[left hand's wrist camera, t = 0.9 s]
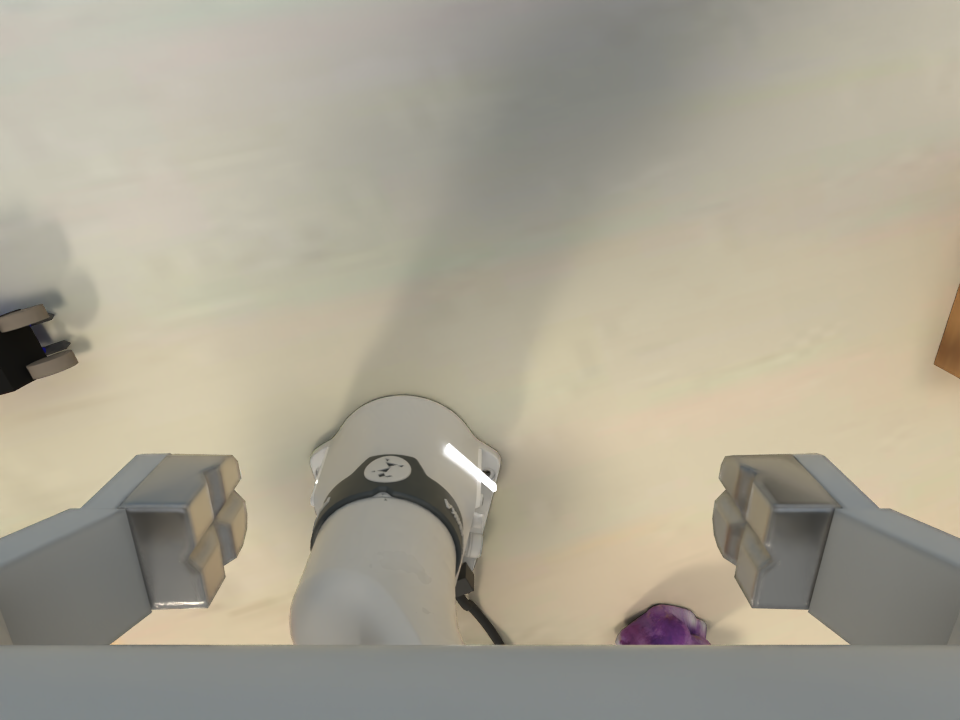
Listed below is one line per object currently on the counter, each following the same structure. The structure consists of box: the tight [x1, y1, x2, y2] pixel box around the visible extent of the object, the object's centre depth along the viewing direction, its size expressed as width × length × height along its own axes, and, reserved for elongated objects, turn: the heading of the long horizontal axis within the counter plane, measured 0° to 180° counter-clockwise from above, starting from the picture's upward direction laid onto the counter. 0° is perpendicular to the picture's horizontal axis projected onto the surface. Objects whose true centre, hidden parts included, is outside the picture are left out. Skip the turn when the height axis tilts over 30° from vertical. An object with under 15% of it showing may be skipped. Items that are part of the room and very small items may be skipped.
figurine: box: [615, 604, 711, 645], centre depth 61 cm, size 9×10×15 cm
